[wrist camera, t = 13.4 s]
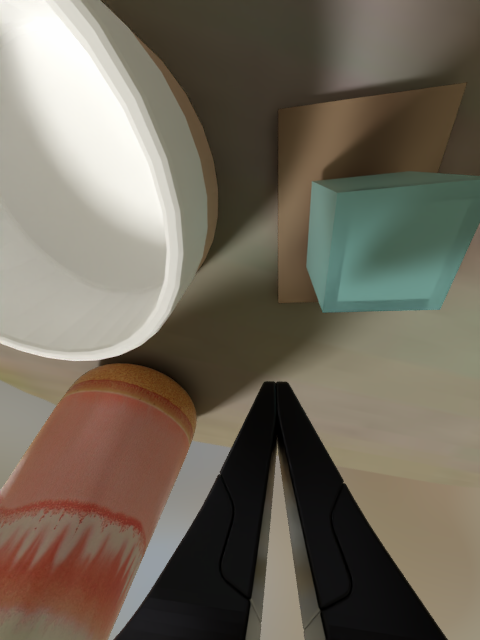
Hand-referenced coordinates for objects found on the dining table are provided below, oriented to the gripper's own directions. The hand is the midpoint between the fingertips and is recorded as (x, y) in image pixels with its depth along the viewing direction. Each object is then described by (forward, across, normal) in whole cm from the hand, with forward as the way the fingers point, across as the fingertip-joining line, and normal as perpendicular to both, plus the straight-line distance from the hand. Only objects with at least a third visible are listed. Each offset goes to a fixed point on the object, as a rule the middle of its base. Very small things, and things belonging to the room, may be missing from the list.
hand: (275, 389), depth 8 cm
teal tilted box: (+10, -5, -3) cm, 12 cm away
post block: (+12, -5, -3) cm, 13 cm away
